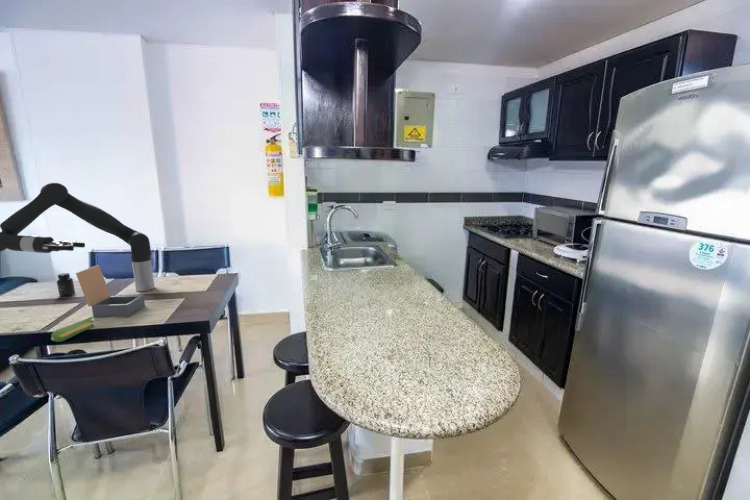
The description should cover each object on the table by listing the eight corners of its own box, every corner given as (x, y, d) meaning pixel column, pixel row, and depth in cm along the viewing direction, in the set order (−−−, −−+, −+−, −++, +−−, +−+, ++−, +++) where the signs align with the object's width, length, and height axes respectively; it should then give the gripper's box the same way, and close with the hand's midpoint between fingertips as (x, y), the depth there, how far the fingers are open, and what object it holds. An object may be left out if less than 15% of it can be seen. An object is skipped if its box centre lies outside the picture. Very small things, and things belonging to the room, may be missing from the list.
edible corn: (44, 334, 139) (53, 331, 138) (91, 315, 158) (99, 313, 157) (49, 346, 139) (59, 343, 138) (95, 326, 159) (103, 324, 158)
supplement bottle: (78, 293, 197) (74, 273, 194) (64, 297, 190) (60, 276, 188) (70, 292, 199) (66, 272, 196) (56, 296, 193) (52, 275, 190)
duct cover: (110, 295, 176) (108, 296, 176) (99, 264, 172) (97, 265, 172) (90, 306, 163) (88, 306, 162) (77, 272, 159) (75, 273, 159)
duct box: (112, 307, 177) (110, 296, 176) (145, 306, 178) (143, 295, 177) (93, 317, 164) (91, 305, 163) (129, 316, 165) (127, 304, 164)
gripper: (25, 238, 151) (69, 241, 155) (48, 233, 165) (87, 236, 169) (26, 255, 153) (69, 257, 156) (48, 249, 166) (88, 251, 170)
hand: (79, 246), depth 162 cm, fingers open, 8 cm apart
